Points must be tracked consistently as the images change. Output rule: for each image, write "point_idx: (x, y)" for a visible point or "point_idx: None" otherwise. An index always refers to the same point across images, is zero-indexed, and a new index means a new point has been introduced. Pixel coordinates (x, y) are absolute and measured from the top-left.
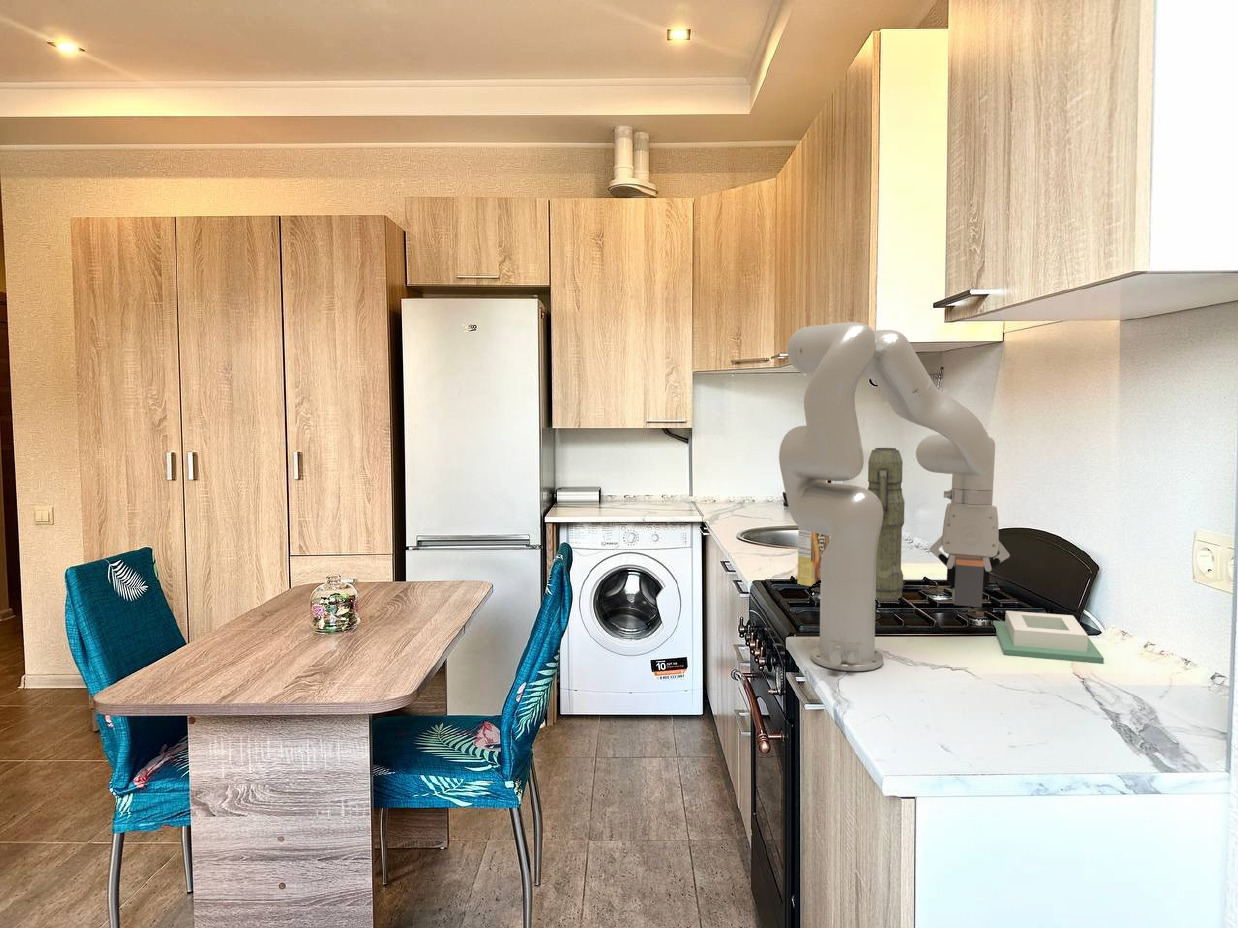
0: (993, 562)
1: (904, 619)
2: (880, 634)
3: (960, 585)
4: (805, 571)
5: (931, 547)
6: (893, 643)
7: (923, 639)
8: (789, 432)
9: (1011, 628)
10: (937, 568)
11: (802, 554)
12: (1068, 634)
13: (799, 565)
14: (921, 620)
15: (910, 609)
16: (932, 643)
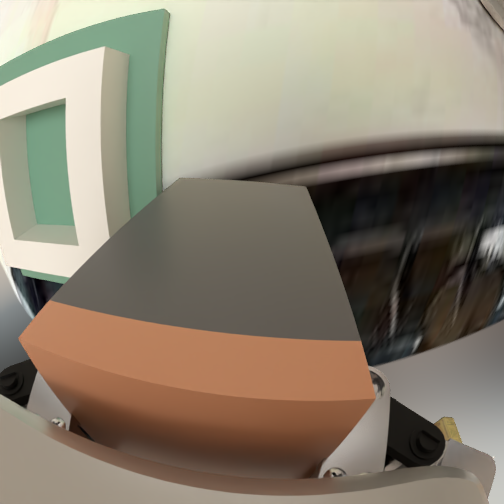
0: (29, 382)
1: (387, 298)
2: (472, 152)
3: (284, 222)
4: (453, 432)
5: (491, 481)
6: (455, 74)
7: (385, 110)
8: None
9: (109, 123)
10: None
11: None
12: (5, 84)
13: (459, 438)
14: (348, 300)
15: None
16: (364, 72)
